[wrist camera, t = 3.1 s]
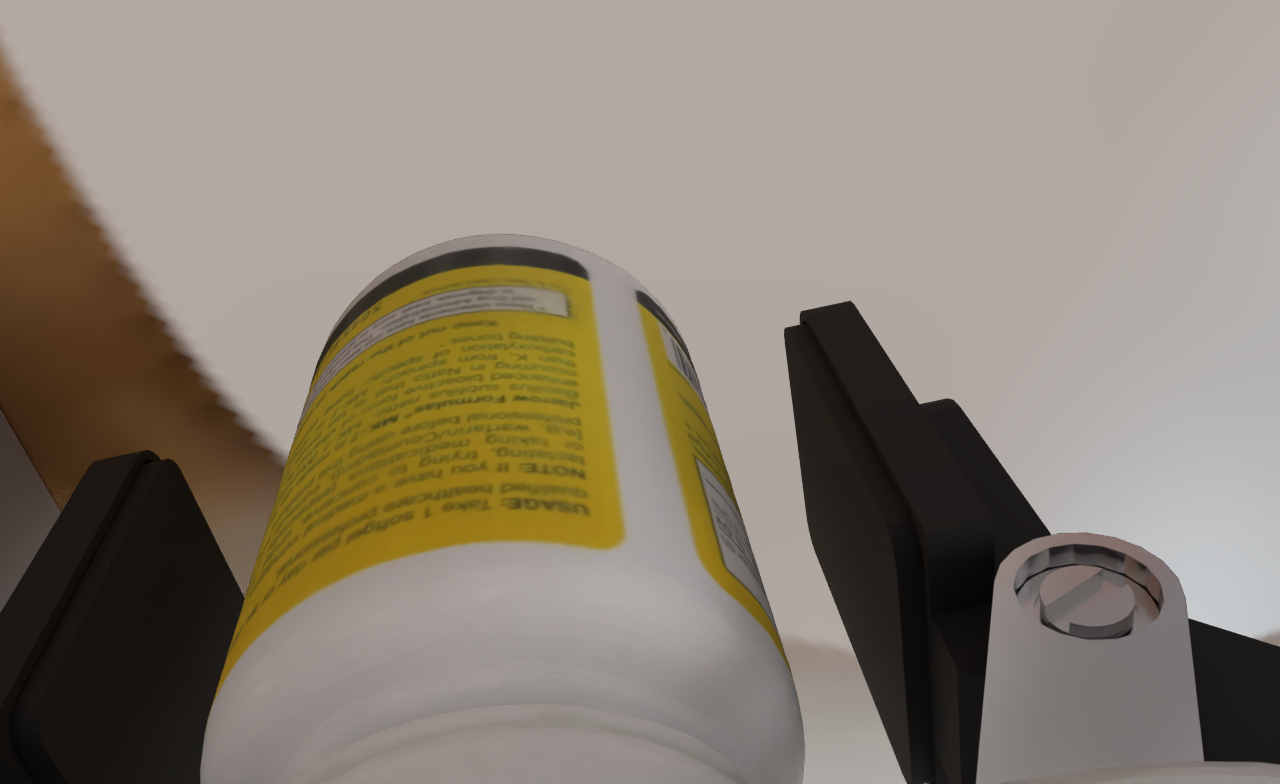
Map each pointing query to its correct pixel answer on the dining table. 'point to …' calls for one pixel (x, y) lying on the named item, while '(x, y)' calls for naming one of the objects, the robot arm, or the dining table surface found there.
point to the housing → (20, 511)
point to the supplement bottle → (505, 550)
